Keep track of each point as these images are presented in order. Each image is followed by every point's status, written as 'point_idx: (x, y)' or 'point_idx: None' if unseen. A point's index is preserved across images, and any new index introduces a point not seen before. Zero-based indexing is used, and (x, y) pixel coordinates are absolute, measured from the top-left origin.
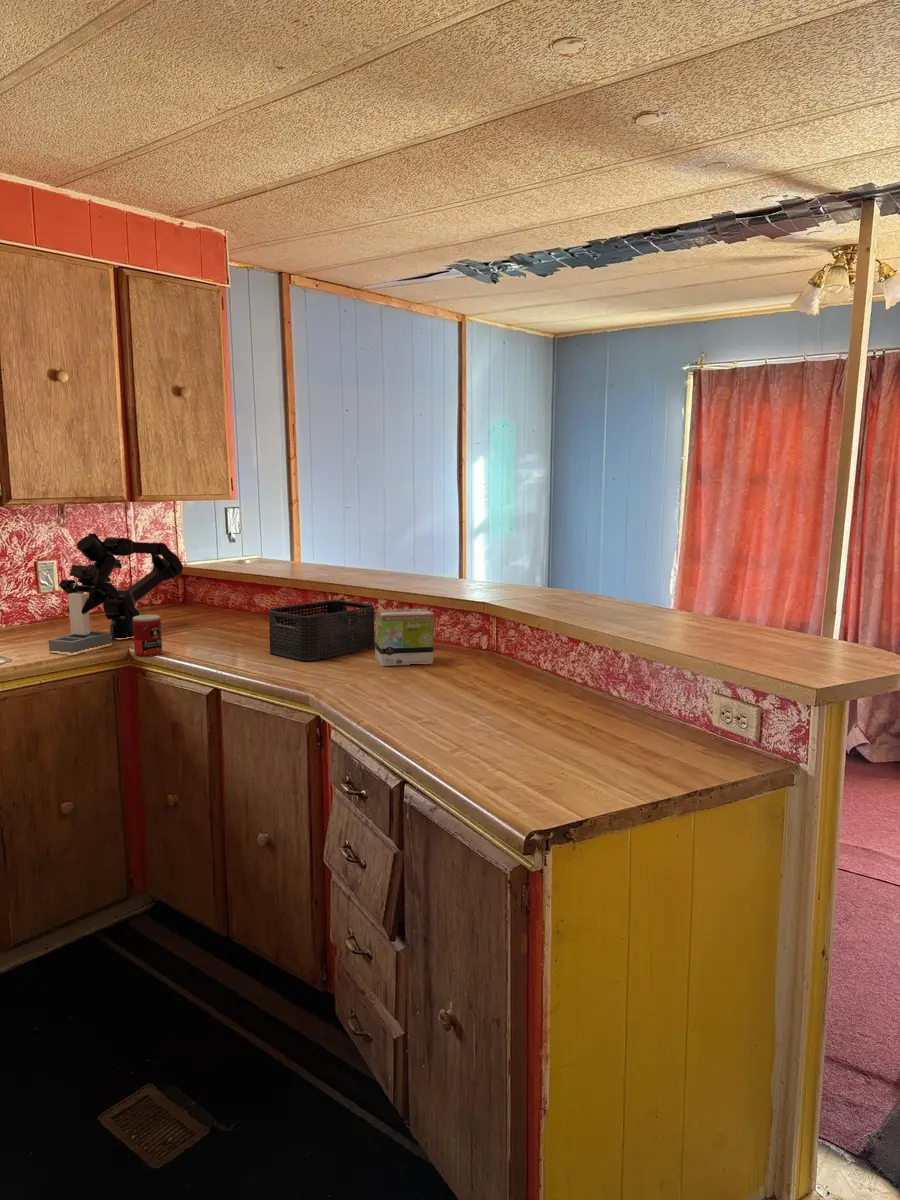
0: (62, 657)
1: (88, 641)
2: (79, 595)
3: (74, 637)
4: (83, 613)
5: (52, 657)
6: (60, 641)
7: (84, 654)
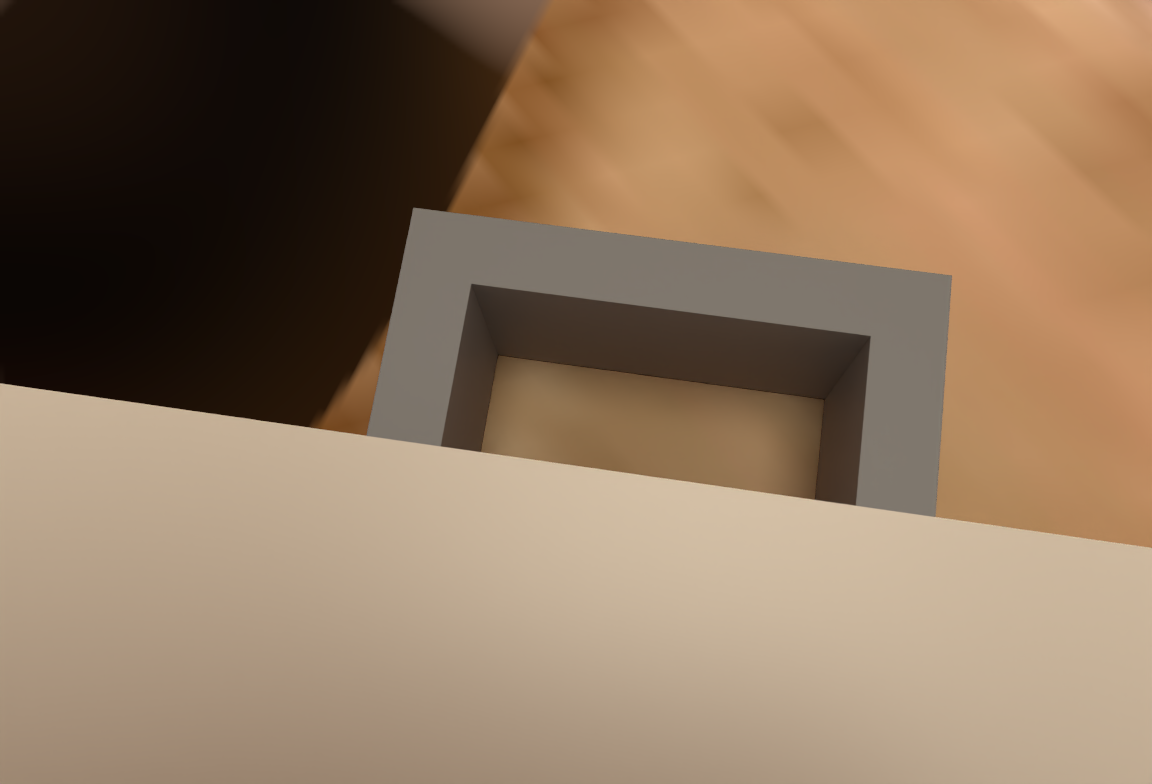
0: (537, 190)
1: None
2: (127, 403)
3: None
4: None
5: (668, 157)
6: (672, 244)
7: (353, 420)
